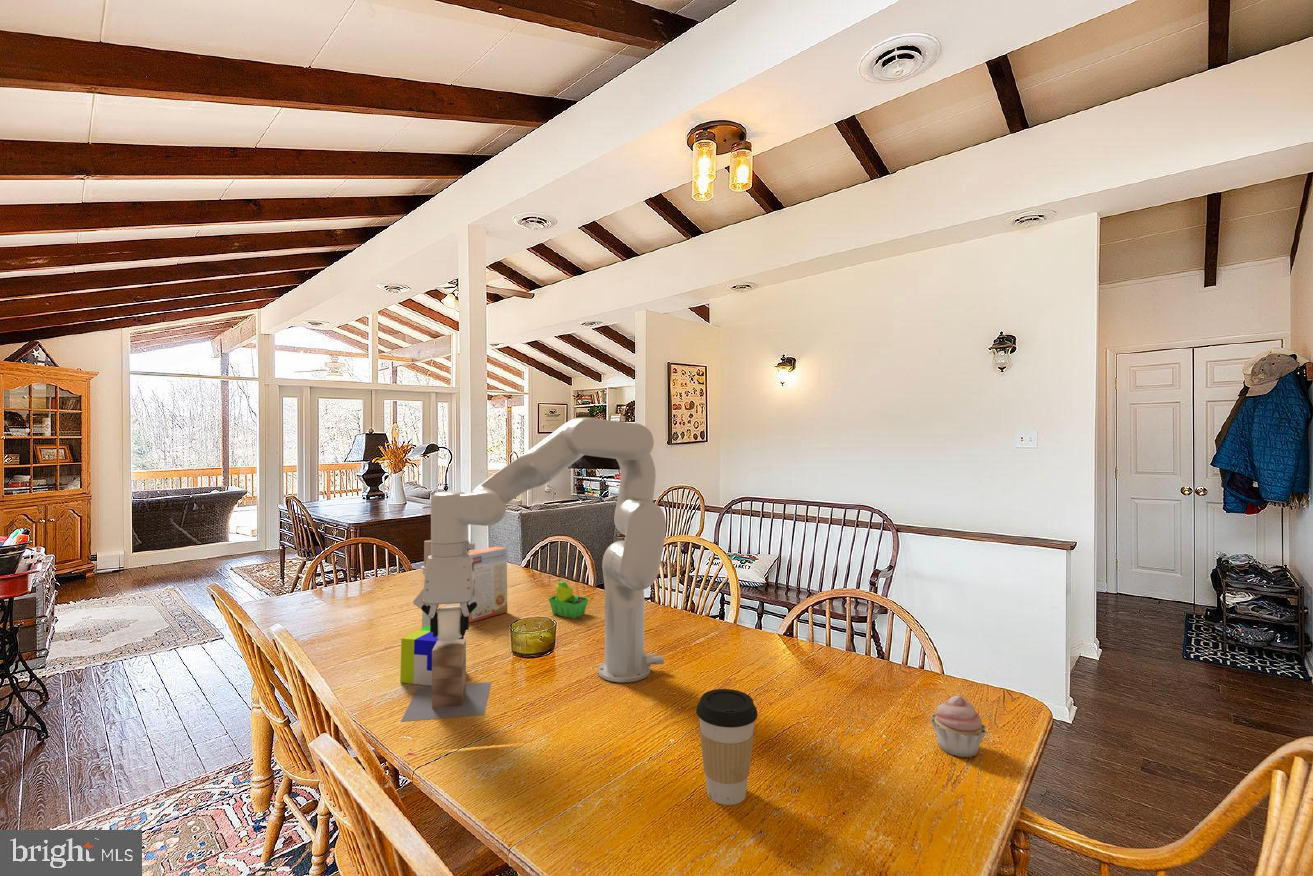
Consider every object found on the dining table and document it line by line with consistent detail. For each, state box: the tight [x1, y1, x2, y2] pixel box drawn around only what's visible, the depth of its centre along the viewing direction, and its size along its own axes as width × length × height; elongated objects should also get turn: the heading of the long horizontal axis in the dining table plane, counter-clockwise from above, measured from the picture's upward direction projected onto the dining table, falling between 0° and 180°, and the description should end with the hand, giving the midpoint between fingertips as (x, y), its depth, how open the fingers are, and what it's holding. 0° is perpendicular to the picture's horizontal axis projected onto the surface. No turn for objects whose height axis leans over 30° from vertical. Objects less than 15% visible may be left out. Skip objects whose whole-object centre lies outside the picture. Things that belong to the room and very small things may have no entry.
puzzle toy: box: [399, 626, 465, 686], centre depth 138 cm, size 10×10×10 cm
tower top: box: [432, 638, 467, 679], centre depth 126 cm, size 6×6×6 cm
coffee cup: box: [695, 688, 759, 806], centre depth 94 cm, size 10×10×15 cm
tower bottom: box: [432, 666, 467, 708], centre depth 126 cm, size 6×6×6 cm
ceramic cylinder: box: [437, 605, 462, 641], centre depth 125 cm, size 5×5×6 cm
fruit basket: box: [548, 580, 589, 619], centre depth 187 cm, size 11×9×11 cm
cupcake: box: [930, 695, 988, 759], centre depth 108 cm, size 9×9×10 cm
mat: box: [400, 681, 492, 723], centre depth 126 cm, size 16×16×1 cm
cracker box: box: [459, 545, 508, 624], centre depth 185 cm, size 14×6×21 cm, turn 140°
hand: (449, 633), depth 126 cm, fingers closed on ceramic cylinder, 5 cm apart
